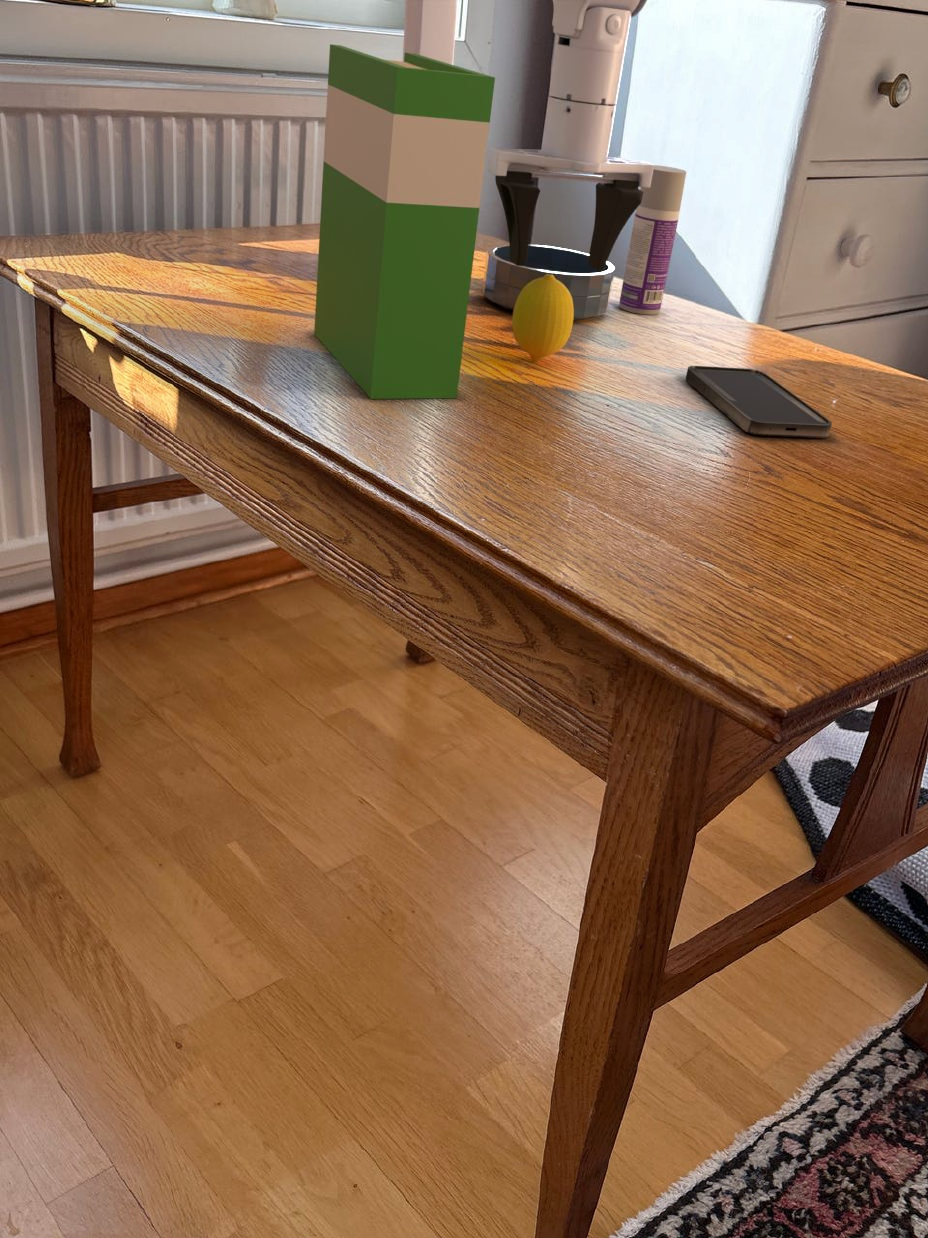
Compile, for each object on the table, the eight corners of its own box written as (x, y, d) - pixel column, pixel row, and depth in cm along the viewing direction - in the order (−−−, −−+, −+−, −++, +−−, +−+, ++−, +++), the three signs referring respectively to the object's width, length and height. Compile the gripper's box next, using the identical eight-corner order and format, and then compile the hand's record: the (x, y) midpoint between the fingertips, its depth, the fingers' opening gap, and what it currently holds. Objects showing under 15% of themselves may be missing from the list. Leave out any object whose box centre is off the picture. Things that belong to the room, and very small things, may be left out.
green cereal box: (314, 333, 104) (330, 43, 93) (390, 334, 107) (415, 53, 95) (370, 398, 90) (397, 67, 79) (456, 397, 93) (495, 77, 81)
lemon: (548, 374, 102) (562, 285, 98) (496, 359, 104) (507, 270, 100) (576, 363, 106) (590, 276, 102) (525, 348, 108) (537, 263, 104)
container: (658, 306, 130) (686, 168, 123) (660, 316, 126) (689, 174, 119) (618, 301, 130) (643, 162, 123) (619, 310, 126) (645, 168, 119)
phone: (759, 369, 107) (837, 425, 94) (756, 380, 108) (833, 438, 95) (682, 364, 105) (751, 421, 92) (680, 376, 106) (748, 434, 93)
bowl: (469, 307, 119) (475, 259, 117) (495, 282, 131) (501, 237, 129) (598, 330, 117) (606, 282, 115) (613, 302, 129) (621, 257, 127)
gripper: (517, 97, 89) (494, 272, 96) (680, 114, 94) (648, 280, 100) (489, 87, 95) (470, 253, 102) (644, 103, 99) (616, 261, 106)
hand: (557, 265), depth 101 cm, fingers open, 7 cm apart
